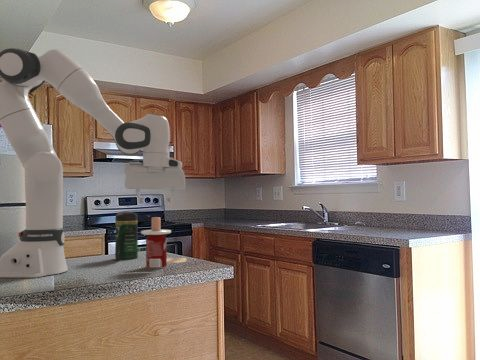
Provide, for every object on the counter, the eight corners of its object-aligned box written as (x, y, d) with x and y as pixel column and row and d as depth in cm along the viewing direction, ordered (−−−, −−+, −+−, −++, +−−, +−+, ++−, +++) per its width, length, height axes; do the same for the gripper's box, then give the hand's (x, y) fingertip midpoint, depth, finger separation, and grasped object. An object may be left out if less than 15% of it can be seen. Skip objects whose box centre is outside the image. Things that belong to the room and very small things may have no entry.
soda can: (162, 270, 139) (161, 234, 140) (142, 270, 141) (142, 234, 141) (169, 267, 146) (169, 232, 146) (151, 266, 147) (151, 232, 148)
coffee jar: (140, 260, 162) (140, 211, 163) (119, 261, 158) (119, 212, 159) (133, 256, 171) (133, 210, 171) (113, 258, 167) (113, 211, 167)
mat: (158, 264, 151) (158, 263, 151) (159, 260, 161) (159, 258, 161) (186, 263, 153) (186, 262, 153) (186, 259, 163) (186, 257, 163)
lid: (139, 235, 138) (139, 218, 138) (142, 232, 148) (142, 216, 148) (170, 234, 139) (170, 218, 140) (171, 231, 149) (171, 216, 149)
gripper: (123, 160, 140) (122, 202, 140) (186, 162, 143) (185, 203, 142) (126, 162, 146) (125, 202, 146) (186, 163, 149) (185, 203, 148)
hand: (155, 203), depth 144 cm, fingers open, 8 cm apart
